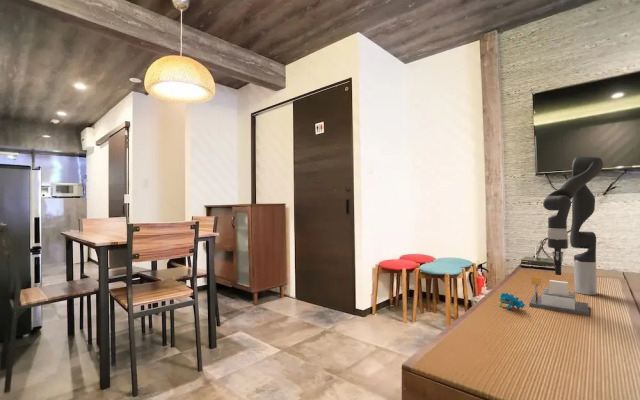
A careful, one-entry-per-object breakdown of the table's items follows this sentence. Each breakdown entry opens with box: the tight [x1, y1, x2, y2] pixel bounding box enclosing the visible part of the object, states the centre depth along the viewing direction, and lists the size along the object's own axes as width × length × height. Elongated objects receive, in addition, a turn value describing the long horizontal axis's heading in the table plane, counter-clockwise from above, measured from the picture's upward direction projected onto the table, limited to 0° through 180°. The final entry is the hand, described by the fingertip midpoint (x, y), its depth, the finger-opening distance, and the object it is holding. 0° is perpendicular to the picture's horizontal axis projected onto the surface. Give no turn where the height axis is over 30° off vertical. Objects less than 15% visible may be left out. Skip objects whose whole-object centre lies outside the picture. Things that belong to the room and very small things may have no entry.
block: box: [548, 279, 569, 296], centre depth 148 cm, size 2×7×10 cm, turn 50°
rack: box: [528, 276, 590, 317], centre depth 148 cm, size 17×21×12 cm
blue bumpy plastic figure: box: [498, 292, 526, 311], centre depth 144 cm, size 11×6×10 cm
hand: (558, 274), depth 148 cm, fingers closed
